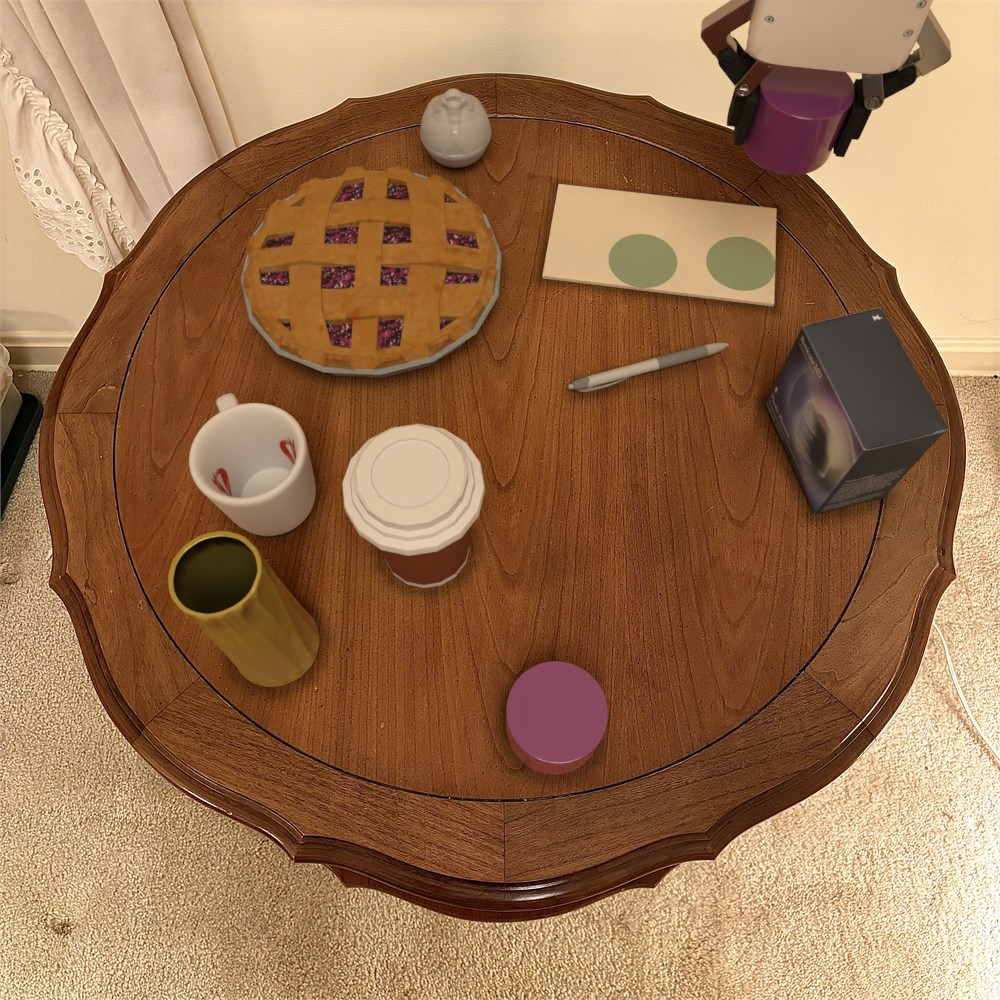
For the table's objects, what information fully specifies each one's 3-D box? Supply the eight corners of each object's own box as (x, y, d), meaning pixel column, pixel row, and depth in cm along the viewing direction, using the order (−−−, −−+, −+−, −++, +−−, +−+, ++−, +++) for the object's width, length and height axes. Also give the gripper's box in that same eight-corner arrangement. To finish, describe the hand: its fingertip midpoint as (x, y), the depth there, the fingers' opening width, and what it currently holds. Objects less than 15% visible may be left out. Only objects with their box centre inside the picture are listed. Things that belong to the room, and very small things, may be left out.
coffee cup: (371, 490, 65) (345, 407, 54) (490, 493, 65) (487, 410, 54) (359, 603, 61) (327, 538, 50) (485, 607, 61) (481, 542, 50)
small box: (757, 402, 68) (797, 321, 59) (831, 385, 69) (883, 302, 59) (810, 518, 64) (862, 450, 54) (889, 498, 64) (955, 427, 55)
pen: (565, 388, 69) (566, 378, 68) (723, 346, 71) (727, 335, 69) (569, 398, 68) (570, 388, 67) (728, 355, 70) (732, 345, 69)
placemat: (775, 211, 77) (777, 207, 77) (773, 306, 72) (774, 303, 72) (558, 186, 79) (558, 182, 78) (542, 278, 74) (542, 274, 73)
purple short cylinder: (605, 686, 58) (613, 668, 54) (595, 782, 55) (602, 771, 51) (513, 672, 59) (514, 653, 54) (498, 766, 56) (498, 754, 52)
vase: (338, 645, 60) (291, 573, 47) (268, 706, 58) (201, 649, 45) (284, 587, 62) (226, 502, 49) (216, 644, 60) (136, 572, 47)
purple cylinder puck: (830, 117, 62) (854, 58, 58) (831, 180, 60) (856, 123, 55) (743, 108, 63) (760, 49, 59) (740, 170, 60) (758, 113, 56)
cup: (197, 453, 66) (159, 398, 59) (292, 413, 68) (266, 355, 61) (244, 567, 62) (209, 523, 55) (343, 522, 64) (323, 472, 57)
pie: (487, 186, 79) (486, 142, 74) (517, 382, 69) (518, 345, 65) (251, 208, 78) (235, 165, 73) (249, 410, 68) (230, 374, 64)
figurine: (490, 128, 82) (488, 53, 75) (493, 181, 79) (492, 108, 72) (422, 131, 82) (414, 56, 75) (423, 184, 79) (415, 111, 72)
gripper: (1050, -165, 46) (907, 114, 62) (729, -191, 47) (671, 89, 63) (1069, -82, 43) (913, 189, 59) (723, -113, 44) (664, 162, 60)
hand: (788, 135), depth 61 cm, fingers closed on purple cylinder puck, 6 cm apart
